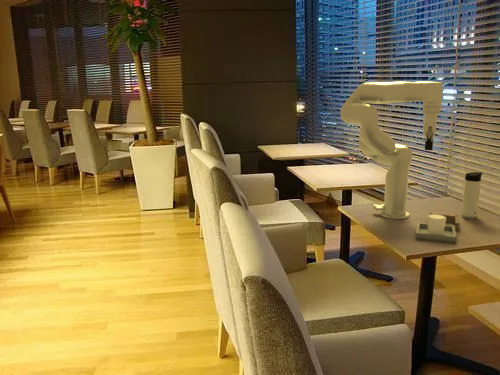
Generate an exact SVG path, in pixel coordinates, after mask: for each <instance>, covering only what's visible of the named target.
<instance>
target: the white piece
mask: <svg viewBox="0 0 500 375" xmlns="http://www.w3.org/2000/svg"><path fill="white" fill-rule="evenodd" d="M437 214H438V213H434V214H431V215H429V214H427V217H426V218H427V224H428V233H429V234H439V235H443V233H444V228H445V225H446V223H447V222H446V217H445V216H443V215H437Z"/></svg>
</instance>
